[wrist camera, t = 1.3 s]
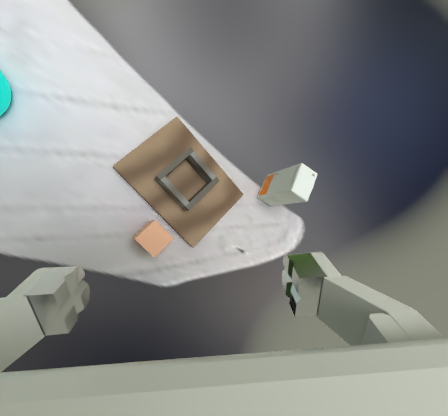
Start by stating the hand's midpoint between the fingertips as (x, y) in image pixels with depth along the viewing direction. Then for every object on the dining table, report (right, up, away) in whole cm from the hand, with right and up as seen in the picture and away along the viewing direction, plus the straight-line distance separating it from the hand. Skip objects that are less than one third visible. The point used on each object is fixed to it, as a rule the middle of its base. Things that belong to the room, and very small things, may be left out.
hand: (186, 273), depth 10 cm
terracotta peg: (-12, -2, +33) cm, 35 cm away
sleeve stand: (-6, +8, +36) cm, 37 cm away
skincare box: (+11, +7, +44) cm, 46 cm away
